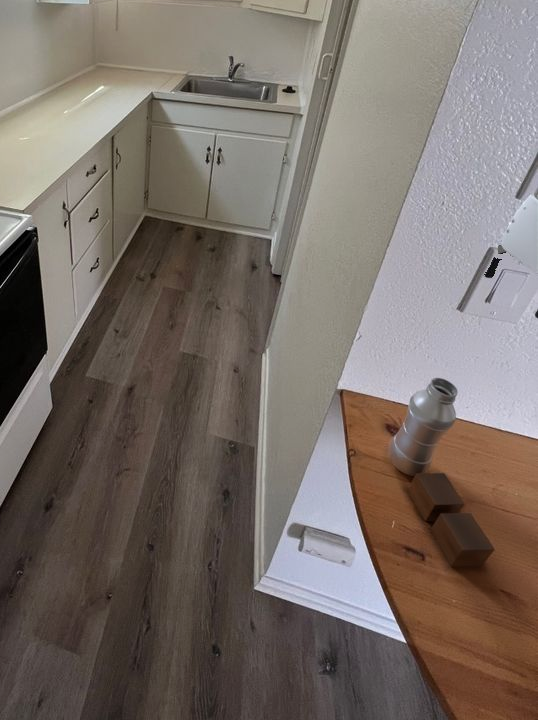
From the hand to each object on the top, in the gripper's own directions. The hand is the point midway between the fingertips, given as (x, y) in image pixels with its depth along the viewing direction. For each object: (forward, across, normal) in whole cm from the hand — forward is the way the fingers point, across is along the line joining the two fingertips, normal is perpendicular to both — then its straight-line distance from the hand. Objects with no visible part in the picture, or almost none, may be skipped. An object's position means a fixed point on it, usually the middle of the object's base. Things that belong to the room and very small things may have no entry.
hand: (517, 296), depth 66 cm
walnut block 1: (+34, -12, +10) cm, 38 cm away
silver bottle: (+34, -5, +10) cm, 36 cm away
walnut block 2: (+34, -18, +10) cm, 40 cm away
